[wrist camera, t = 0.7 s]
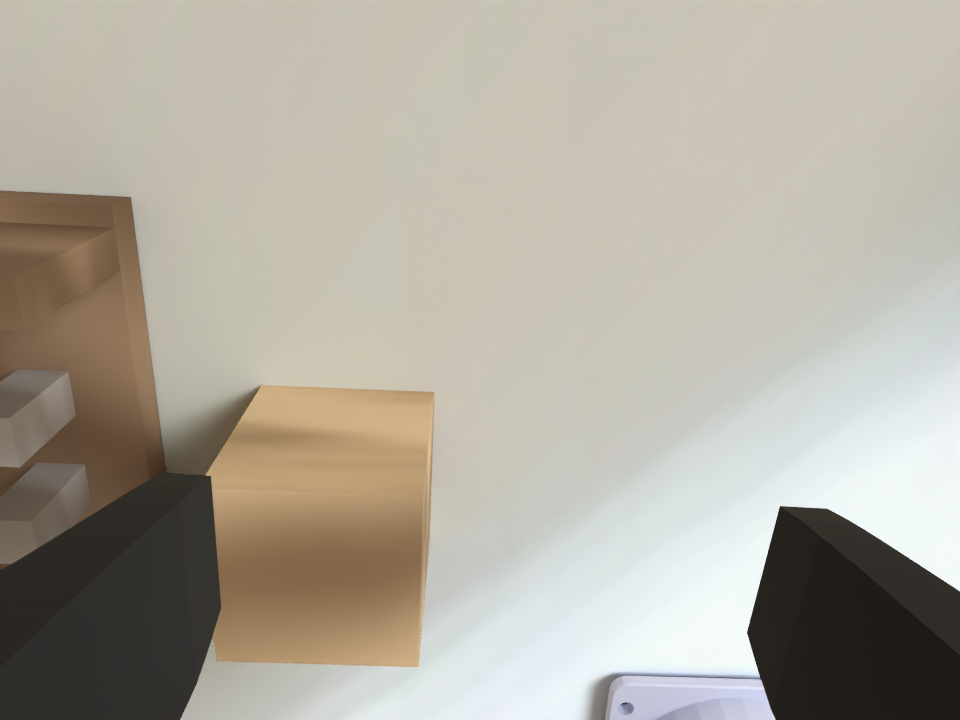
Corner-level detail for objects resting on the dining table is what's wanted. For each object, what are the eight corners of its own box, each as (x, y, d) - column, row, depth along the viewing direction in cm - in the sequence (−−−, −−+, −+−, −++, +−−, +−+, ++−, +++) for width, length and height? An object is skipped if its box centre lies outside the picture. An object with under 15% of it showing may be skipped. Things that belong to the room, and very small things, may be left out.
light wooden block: (429, 533, 21) (418, 667, 17) (271, 527, 21) (216, 660, 17) (434, 391, 20) (422, 496, 15) (262, 384, 19) (197, 488, 15)
